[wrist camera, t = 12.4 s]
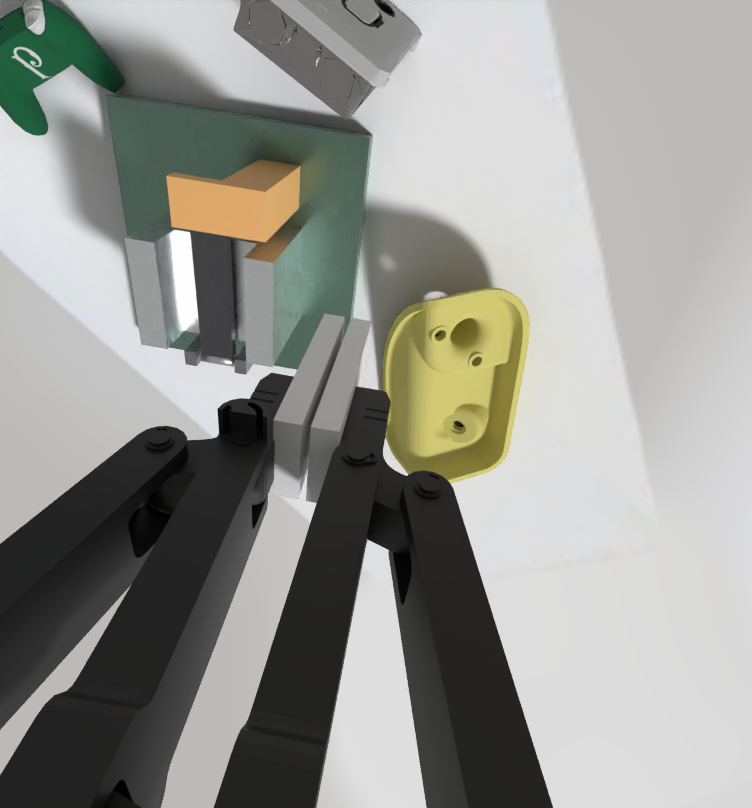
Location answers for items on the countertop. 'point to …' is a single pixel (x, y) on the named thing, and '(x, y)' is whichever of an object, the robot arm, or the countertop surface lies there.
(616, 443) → the countertop surface
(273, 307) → the green mounting baseplate
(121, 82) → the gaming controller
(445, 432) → the plastic component
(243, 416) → the robot arm
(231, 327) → the strap
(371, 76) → the electrical switch
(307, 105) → the countertop surface
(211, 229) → the block
